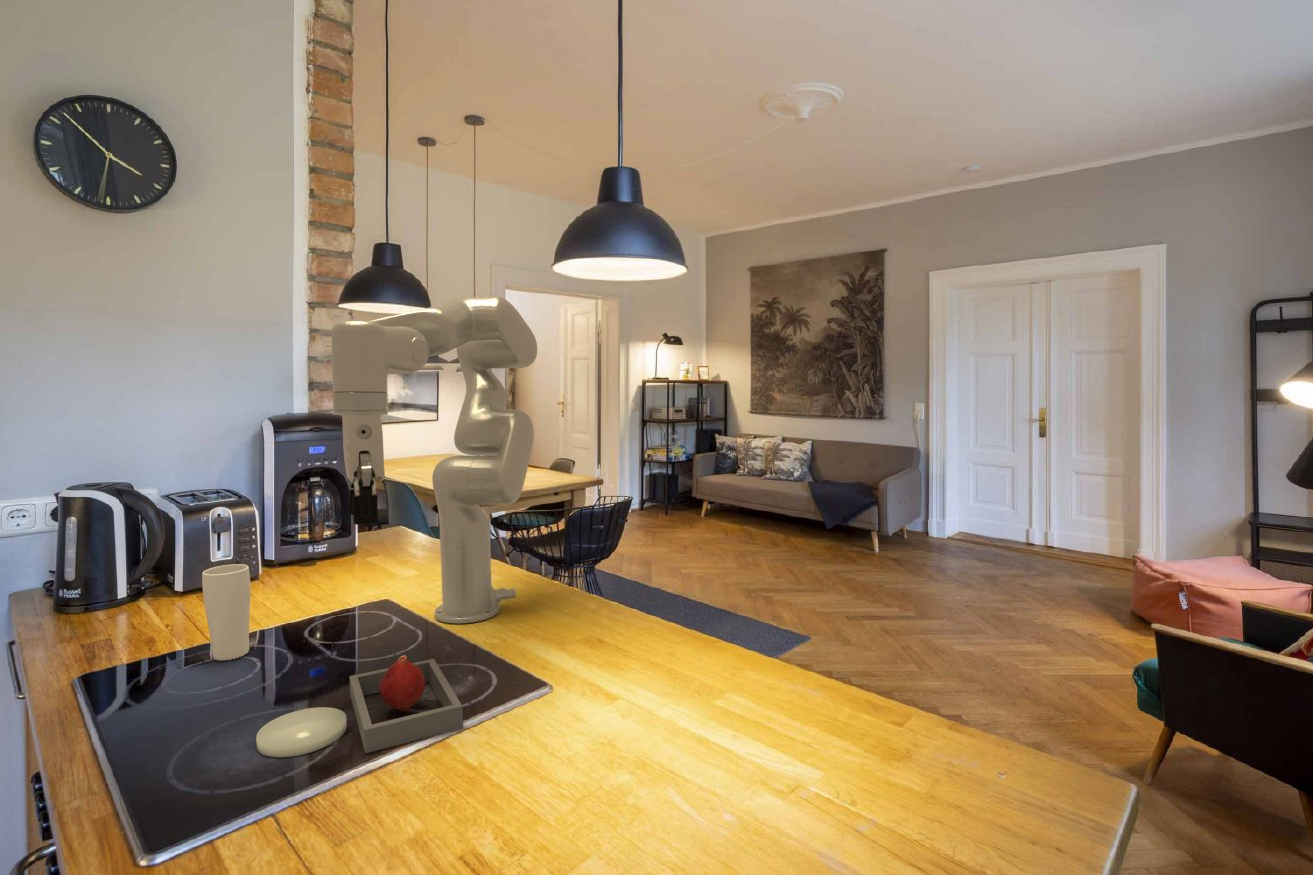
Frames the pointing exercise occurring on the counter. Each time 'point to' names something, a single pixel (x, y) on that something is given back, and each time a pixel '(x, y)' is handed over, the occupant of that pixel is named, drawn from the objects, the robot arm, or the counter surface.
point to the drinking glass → (227, 609)
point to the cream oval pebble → (301, 732)
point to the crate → (409, 725)
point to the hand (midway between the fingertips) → (363, 518)
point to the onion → (402, 685)
